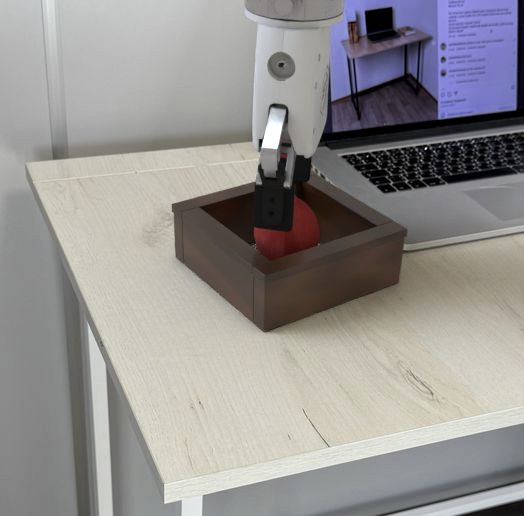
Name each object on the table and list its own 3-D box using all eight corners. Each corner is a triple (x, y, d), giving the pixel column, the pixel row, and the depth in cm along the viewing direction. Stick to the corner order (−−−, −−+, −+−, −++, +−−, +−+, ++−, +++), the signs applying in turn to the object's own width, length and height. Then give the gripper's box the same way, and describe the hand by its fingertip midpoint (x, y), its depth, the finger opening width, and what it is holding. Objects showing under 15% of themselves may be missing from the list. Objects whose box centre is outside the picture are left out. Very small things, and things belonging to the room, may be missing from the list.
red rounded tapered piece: (242, 261, 81) (243, 181, 76) (297, 248, 83) (301, 169, 78) (272, 292, 77) (274, 209, 72) (328, 277, 79) (335, 196, 74)
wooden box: (302, 218, 88) (305, 167, 85) (401, 283, 78) (408, 228, 75) (173, 256, 81) (171, 203, 78) (263, 333, 72) (265, 276, 68)
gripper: (329, 31, 59) (311, 256, 69) (356, -27, 73) (338, 167, 83) (219, 21, 60) (217, 244, 70) (267, -34, 74) (259, 158, 83)
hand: (283, 202), depth 76 cm, fingers open, 9 cm apart
